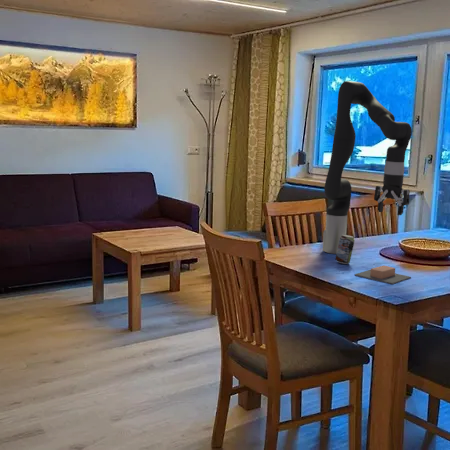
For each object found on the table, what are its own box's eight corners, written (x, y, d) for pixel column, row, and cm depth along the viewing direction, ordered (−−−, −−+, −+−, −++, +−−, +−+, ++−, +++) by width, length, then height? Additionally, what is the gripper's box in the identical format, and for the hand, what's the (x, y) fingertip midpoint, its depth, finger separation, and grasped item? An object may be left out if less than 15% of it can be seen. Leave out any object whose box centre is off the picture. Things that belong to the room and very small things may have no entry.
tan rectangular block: (383, 272, 224) (383, 265, 224) (394, 275, 221) (395, 268, 220) (370, 276, 218) (370, 268, 218) (381, 278, 215) (382, 271, 214)
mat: (354, 275, 220) (354, 274, 220) (373, 269, 230) (373, 268, 230) (392, 284, 209) (392, 283, 209) (410, 278, 219) (410, 276, 219)
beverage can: (332, 262, 241) (334, 234, 239) (347, 261, 244) (349, 233, 242) (340, 265, 235) (342, 236, 233) (355, 264, 238) (357, 236, 236)
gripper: (415, 174, 224) (410, 215, 227) (383, 170, 234) (379, 210, 237) (405, 175, 219) (401, 217, 222) (373, 171, 229) (369, 211, 232)
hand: (389, 213), depth 230 cm, fingers open, 8 cm apart
